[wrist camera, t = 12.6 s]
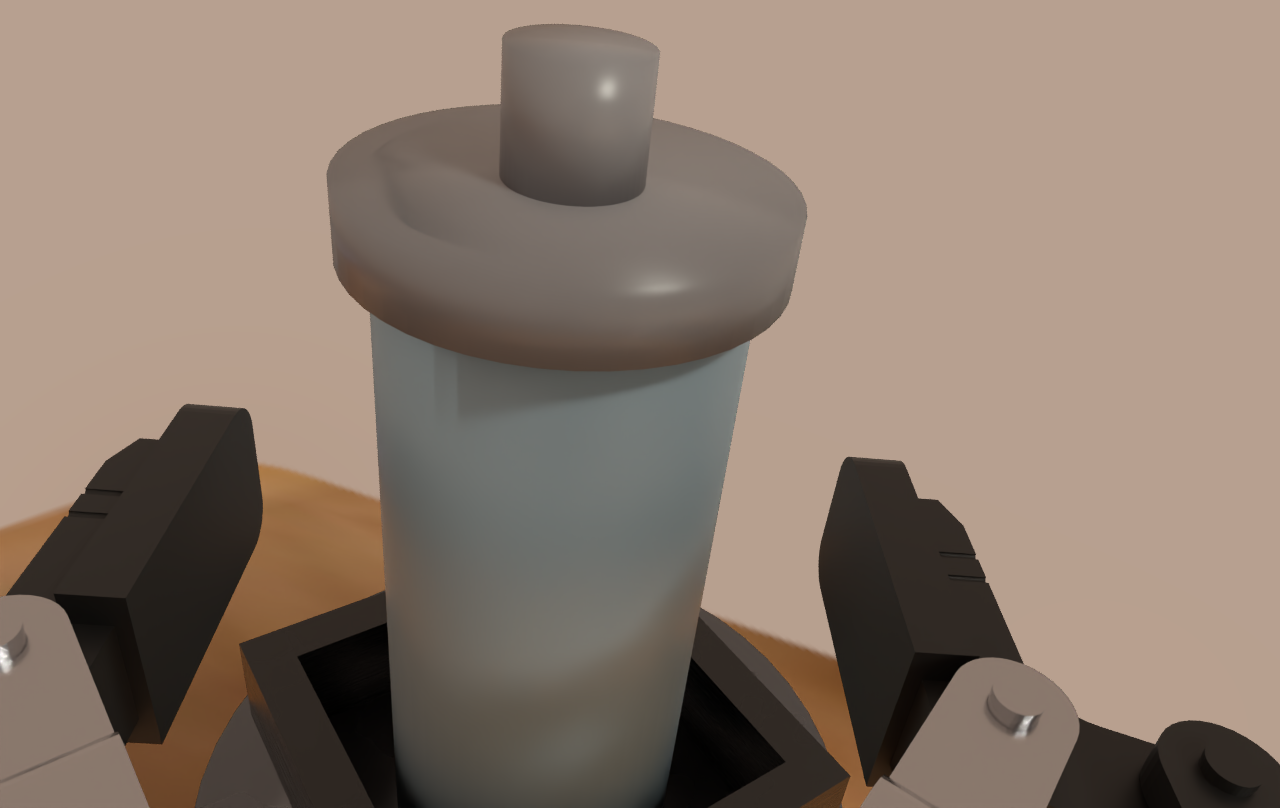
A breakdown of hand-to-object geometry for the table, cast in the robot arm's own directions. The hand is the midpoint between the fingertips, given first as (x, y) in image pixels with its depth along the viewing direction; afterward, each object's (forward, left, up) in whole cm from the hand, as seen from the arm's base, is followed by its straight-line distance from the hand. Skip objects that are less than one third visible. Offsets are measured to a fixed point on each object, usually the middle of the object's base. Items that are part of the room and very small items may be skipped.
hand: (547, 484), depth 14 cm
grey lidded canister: (-1, -1, -8) cm, 8 cm away
